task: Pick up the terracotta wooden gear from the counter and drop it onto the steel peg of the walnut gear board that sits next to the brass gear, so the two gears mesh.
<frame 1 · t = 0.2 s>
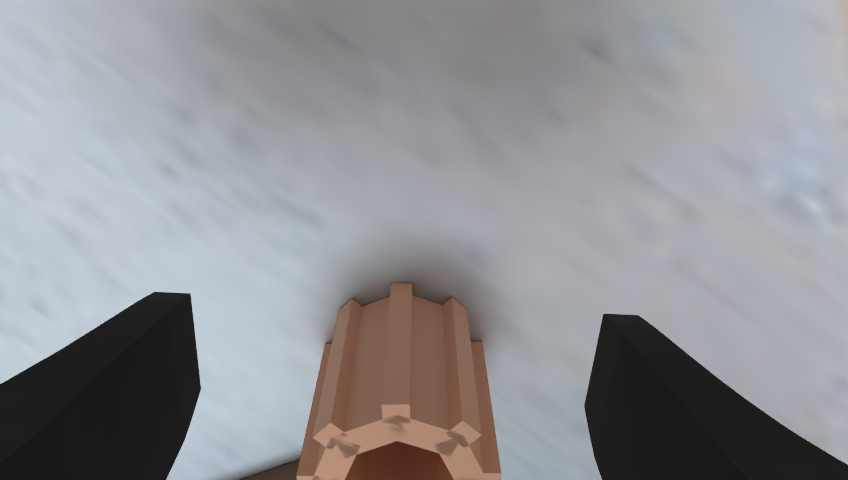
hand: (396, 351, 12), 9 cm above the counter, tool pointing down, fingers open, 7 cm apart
gear: (403, 350, 23), on the counter
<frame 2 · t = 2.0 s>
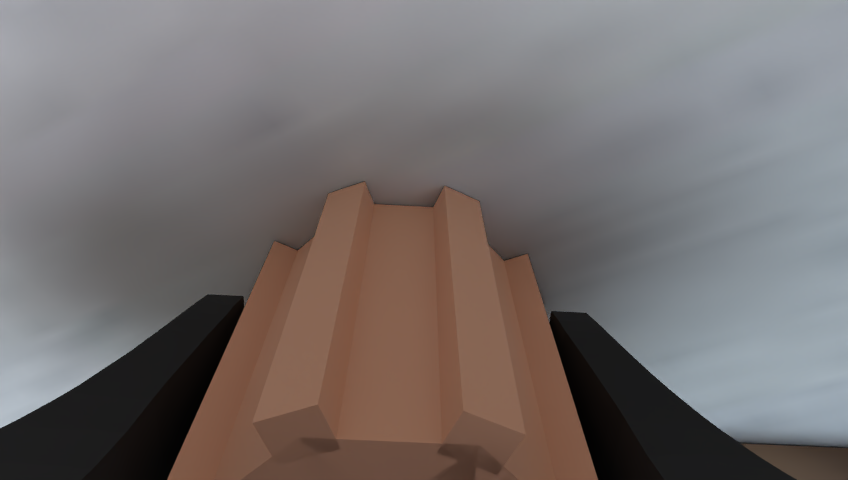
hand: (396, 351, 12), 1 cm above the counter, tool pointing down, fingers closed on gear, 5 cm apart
gear: (398, 309, 13), on the counter, touching gripper
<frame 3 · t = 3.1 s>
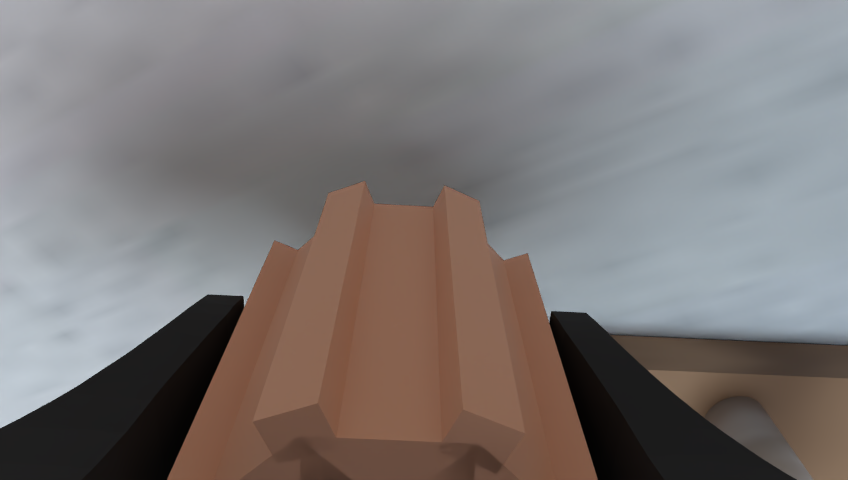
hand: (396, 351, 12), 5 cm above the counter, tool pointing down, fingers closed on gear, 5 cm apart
gear: (398, 308, 13), point 4 cm above the counter, touching gripper
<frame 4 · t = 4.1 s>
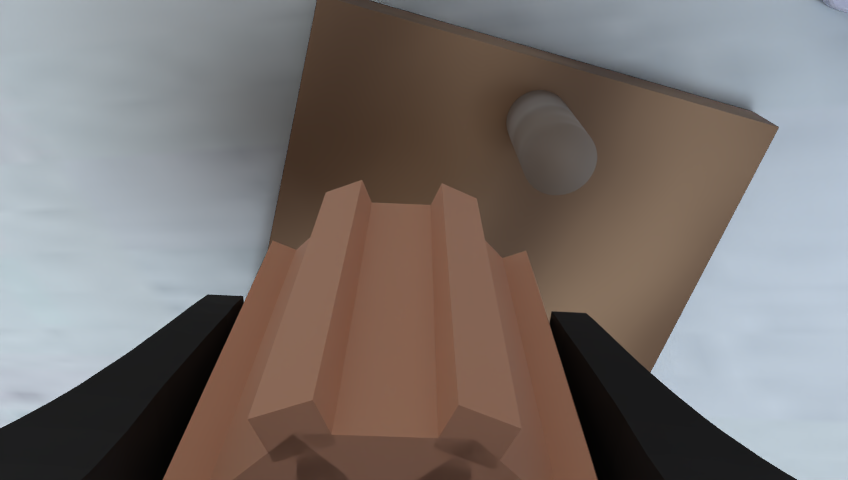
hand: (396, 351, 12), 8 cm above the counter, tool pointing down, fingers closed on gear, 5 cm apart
gear board: (442, 352, 22), on the counter
gear: (397, 307, 13), point 7 cm above the counter, touching gripper
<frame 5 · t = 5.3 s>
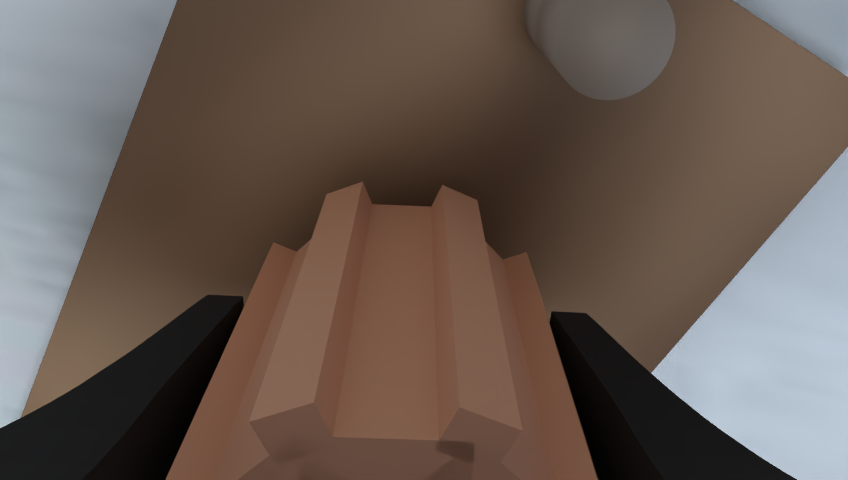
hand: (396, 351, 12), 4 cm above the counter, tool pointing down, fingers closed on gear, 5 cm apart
gear board: (357, 324, 16), on the counter
gear: (398, 309, 13), point 3 cm above the counter, touching gripper
when the fingers open (4 cm above the counter, at t = 6.2 s): gear stays where it is, resting on gear board.
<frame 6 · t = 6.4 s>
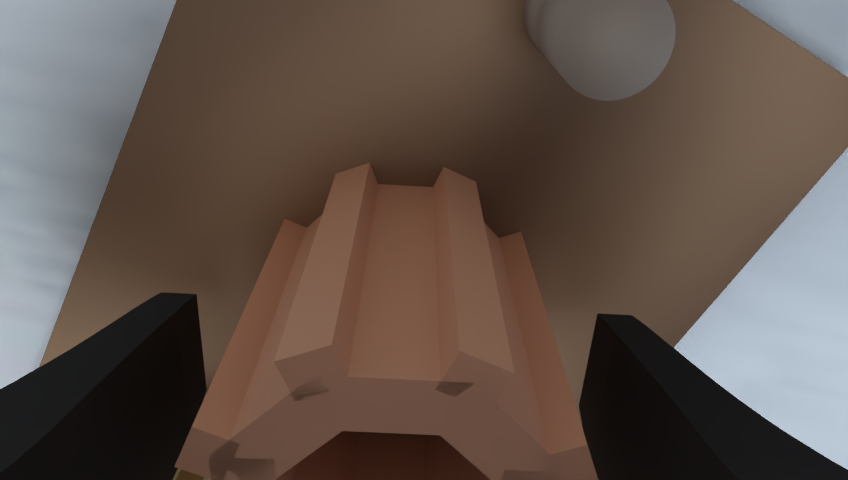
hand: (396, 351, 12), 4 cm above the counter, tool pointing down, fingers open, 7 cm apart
gear board: (357, 325, 16), on the counter
gear: (400, 283, 14), point 1 cm above the counter, touching gear board
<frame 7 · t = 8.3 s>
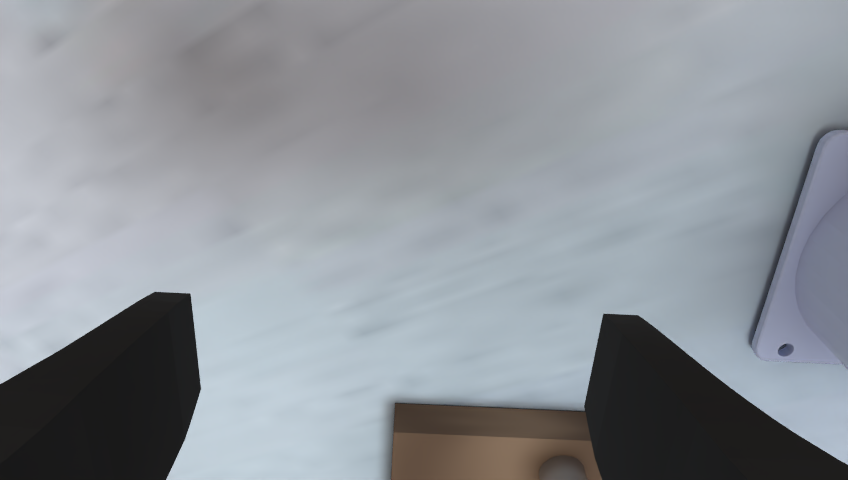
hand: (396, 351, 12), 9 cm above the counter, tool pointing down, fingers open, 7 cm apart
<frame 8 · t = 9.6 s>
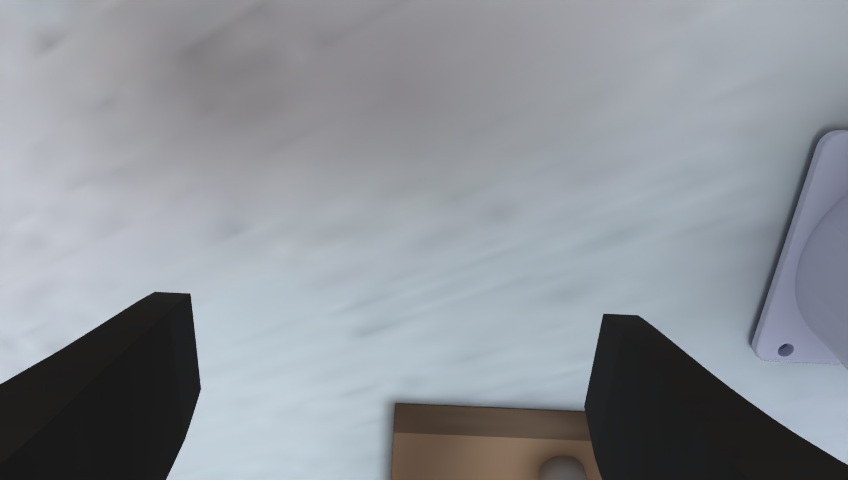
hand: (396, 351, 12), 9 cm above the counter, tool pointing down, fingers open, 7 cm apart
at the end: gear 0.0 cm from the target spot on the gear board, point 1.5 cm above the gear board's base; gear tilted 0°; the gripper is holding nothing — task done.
